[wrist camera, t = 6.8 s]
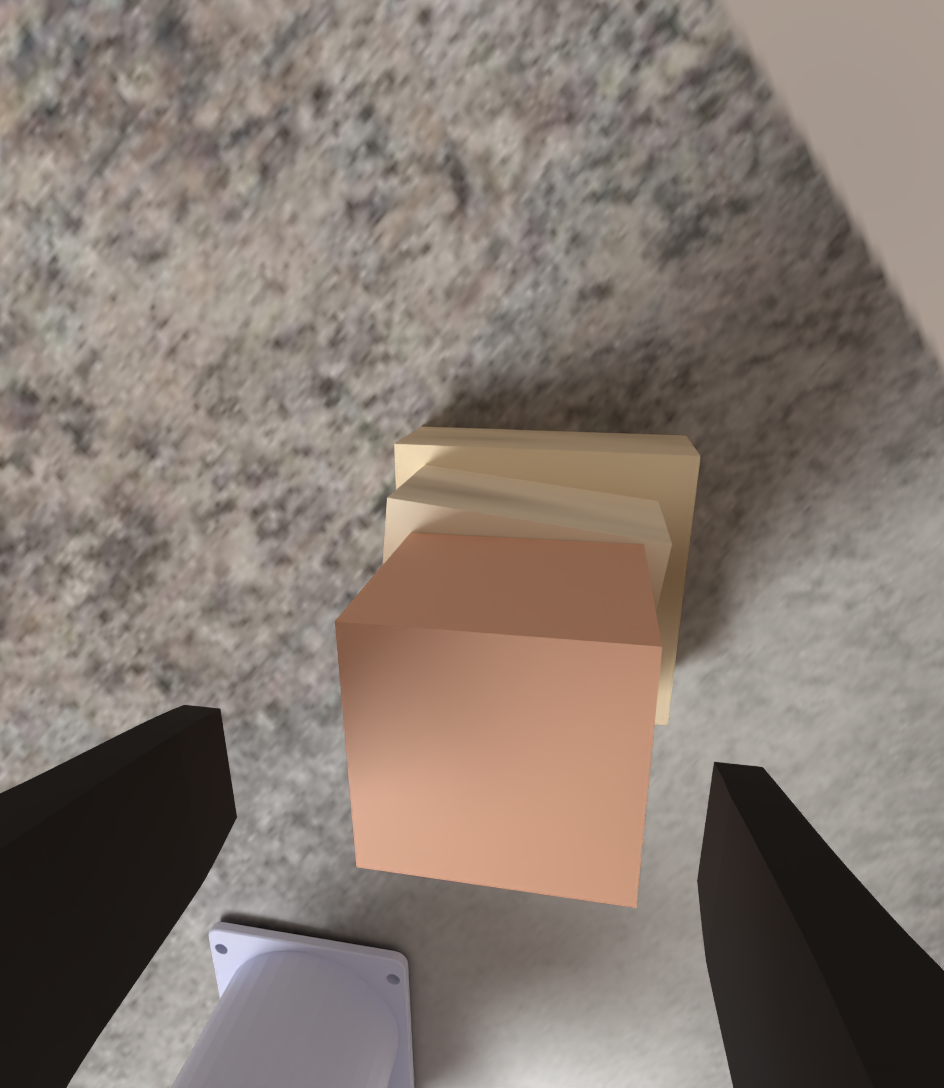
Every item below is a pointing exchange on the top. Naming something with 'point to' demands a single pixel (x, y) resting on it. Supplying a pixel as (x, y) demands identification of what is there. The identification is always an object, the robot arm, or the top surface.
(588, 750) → the terracotta block
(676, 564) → the tower base
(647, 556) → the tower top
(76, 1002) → the robot arm
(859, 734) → the top surface
